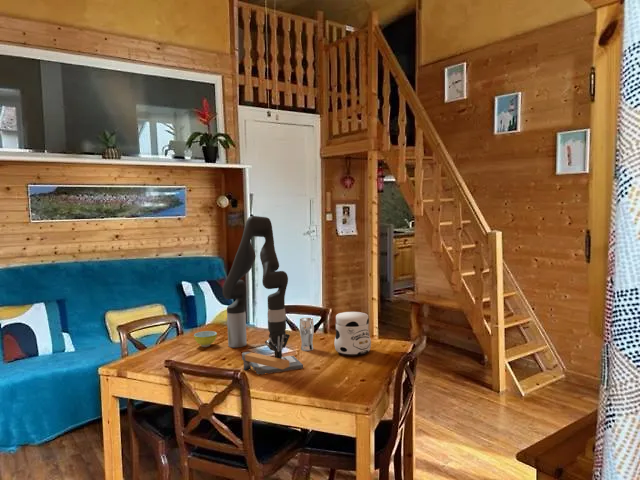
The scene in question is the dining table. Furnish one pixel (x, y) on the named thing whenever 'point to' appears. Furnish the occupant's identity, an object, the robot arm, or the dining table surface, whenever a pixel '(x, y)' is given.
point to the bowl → (205, 338)
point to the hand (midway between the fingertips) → (278, 359)
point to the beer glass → (307, 333)
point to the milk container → (352, 333)
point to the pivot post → (247, 365)
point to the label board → (268, 369)
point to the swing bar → (265, 360)
